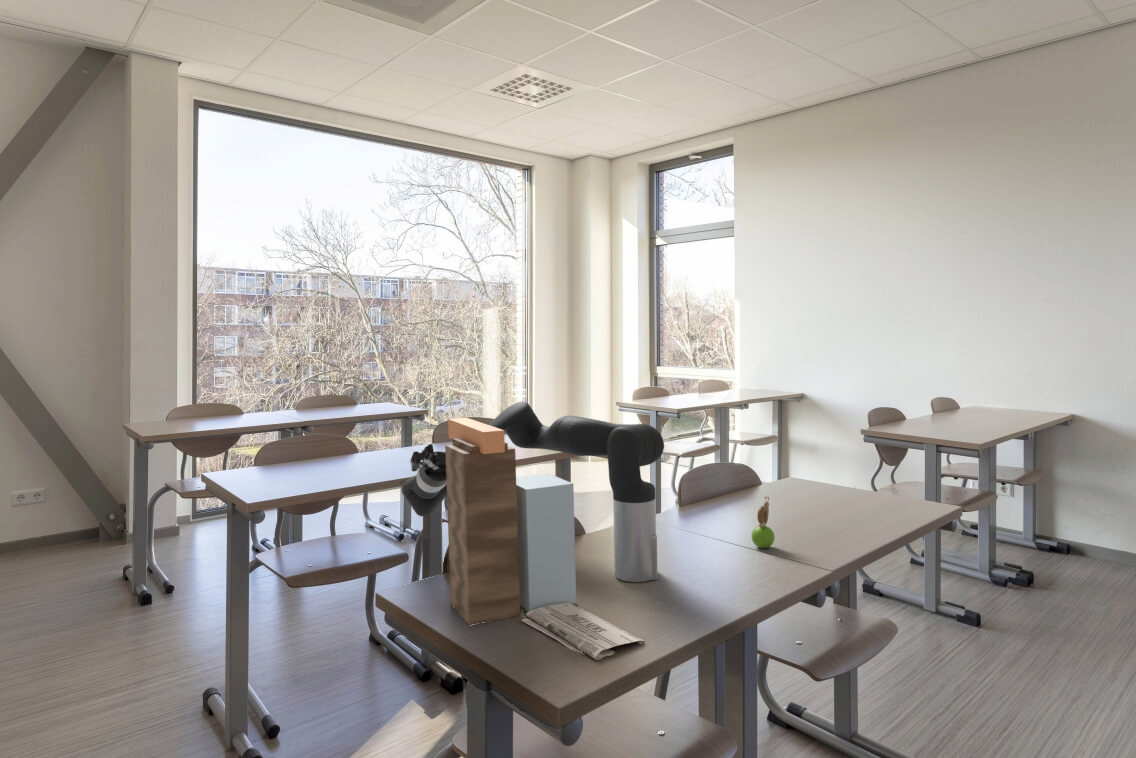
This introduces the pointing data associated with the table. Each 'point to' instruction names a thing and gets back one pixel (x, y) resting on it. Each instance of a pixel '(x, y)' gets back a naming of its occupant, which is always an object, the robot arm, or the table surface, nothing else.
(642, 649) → the table surface
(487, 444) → the beam
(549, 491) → the short post
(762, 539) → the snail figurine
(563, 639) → the newspaper
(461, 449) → the tall post
